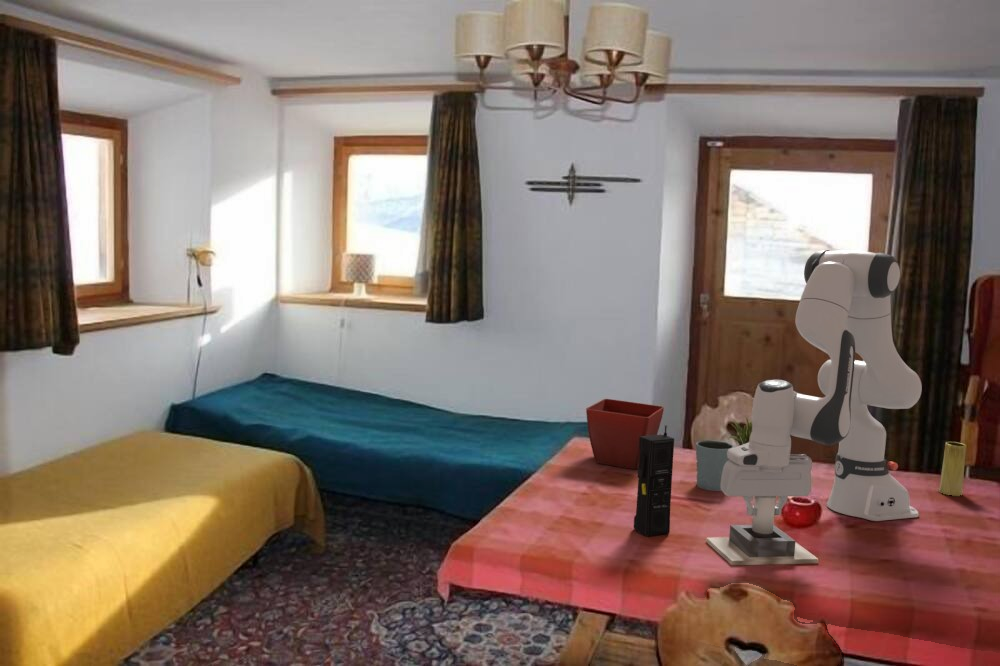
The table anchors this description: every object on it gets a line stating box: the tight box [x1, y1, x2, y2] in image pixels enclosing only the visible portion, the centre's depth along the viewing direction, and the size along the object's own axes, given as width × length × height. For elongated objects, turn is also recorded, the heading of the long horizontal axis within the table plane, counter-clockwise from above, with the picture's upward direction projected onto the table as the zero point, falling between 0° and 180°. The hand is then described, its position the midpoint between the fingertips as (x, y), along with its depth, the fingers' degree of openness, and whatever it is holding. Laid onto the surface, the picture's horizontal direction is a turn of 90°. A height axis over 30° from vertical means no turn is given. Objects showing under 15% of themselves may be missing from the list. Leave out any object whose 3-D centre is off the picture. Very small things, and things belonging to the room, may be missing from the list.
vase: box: [938, 441, 967, 497], centre depth 256 cm, size 6×6×14 cm
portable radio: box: [633, 425, 675, 537], centre depth 212 cm, size 8×6×25 cm
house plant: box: [728, 416, 752, 446], centre depth 270 cm, size 14×14×16 cm
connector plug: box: [751, 496, 777, 534], centre depth 202 cm, size 4×4×8 cm
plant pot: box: [585, 398, 665, 470], centre depth 273 cm, size 19×19×17 cm
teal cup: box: [695, 439, 735, 492], centre depth 252 cm, size 10×10×12 cm
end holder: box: [705, 524, 819, 566], centre depth 203 cm, size 20×14×4 cm
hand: (763, 514), depth 202 cm, fingers closed on connector plug, 4 cm apart
